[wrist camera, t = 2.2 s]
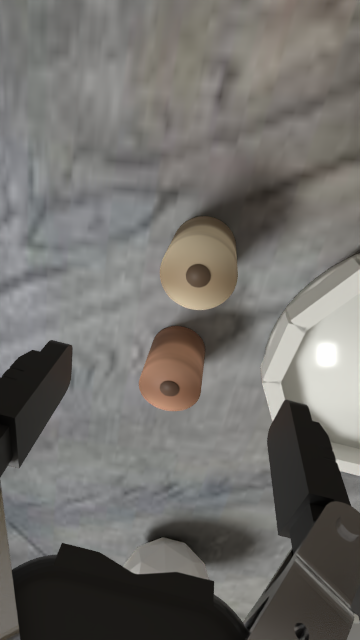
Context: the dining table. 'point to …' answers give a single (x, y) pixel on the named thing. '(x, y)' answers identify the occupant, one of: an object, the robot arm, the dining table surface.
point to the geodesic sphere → (166, 559)
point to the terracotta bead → (173, 369)
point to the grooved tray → (321, 358)
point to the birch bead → (200, 264)
